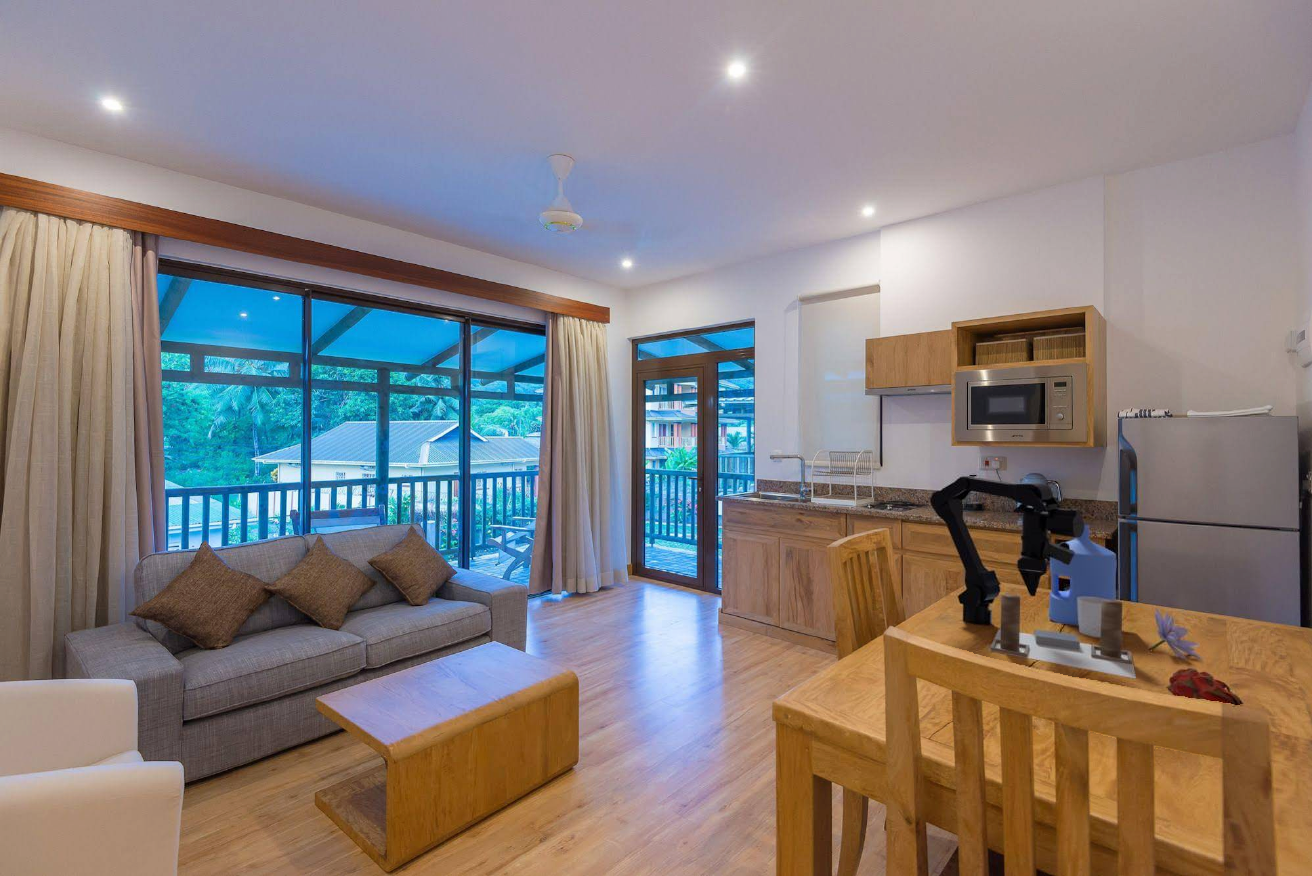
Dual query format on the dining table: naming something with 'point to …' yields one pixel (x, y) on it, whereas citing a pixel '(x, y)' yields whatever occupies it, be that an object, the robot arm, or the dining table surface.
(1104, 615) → the pin
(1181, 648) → the water lily
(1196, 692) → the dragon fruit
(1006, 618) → the pin
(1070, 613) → the water jug
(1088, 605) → the white cup
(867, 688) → the dining table surface
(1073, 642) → the cover
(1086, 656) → the board
